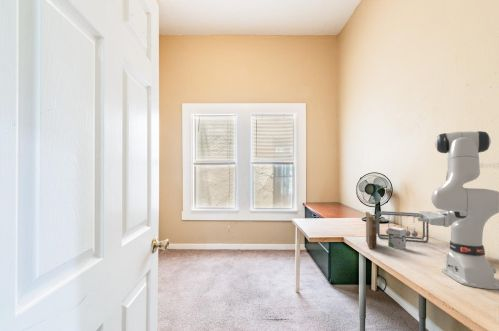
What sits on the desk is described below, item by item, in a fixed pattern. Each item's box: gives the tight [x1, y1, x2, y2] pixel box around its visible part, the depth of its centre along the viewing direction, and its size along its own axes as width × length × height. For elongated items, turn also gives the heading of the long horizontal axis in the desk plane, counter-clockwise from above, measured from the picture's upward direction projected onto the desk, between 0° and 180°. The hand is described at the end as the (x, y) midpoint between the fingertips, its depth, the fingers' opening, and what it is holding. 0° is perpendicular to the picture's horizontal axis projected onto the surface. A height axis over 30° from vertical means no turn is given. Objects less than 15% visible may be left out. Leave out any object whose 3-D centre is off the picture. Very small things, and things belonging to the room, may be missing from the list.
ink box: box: [387, 226, 407, 250], centre depth 163 cm, size 9×5×12 cm, turn 26°
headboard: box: [365, 211, 378, 250], centre depth 168 cm, size 20×5×19 cm, turn 161°
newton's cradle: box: [376, 210, 430, 243], centre depth 184 cm, size 30×10×18 cm, turn 69°
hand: (415, 217), depth 160 cm, fingers open, 8 cm apart
